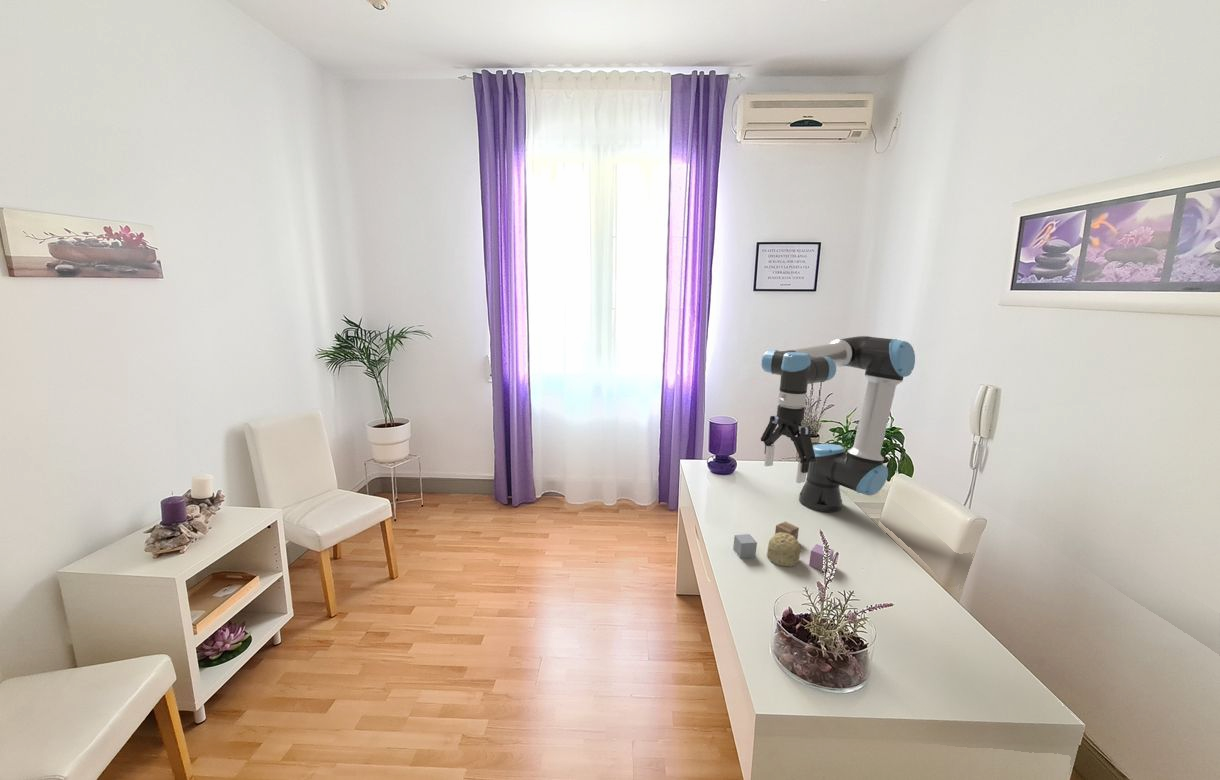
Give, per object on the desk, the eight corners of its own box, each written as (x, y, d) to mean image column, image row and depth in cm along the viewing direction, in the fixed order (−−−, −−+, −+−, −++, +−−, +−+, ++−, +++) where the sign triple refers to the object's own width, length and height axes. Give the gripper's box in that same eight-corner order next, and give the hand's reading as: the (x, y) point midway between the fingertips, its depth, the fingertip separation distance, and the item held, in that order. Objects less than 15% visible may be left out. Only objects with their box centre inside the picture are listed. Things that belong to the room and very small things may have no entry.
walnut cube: (783, 535, 164) (785, 521, 163) (797, 541, 160) (798, 527, 159) (774, 539, 161) (776, 525, 160) (787, 546, 157) (789, 531, 156)
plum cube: (814, 558, 150) (816, 543, 149) (831, 565, 147) (833, 550, 146) (809, 565, 147) (811, 550, 146) (826, 572, 144) (828, 556, 143)
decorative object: (790, 579, 145) (812, 555, 143) (762, 559, 146) (784, 534, 144) (783, 565, 154) (804, 541, 153) (757, 545, 155) (778, 521, 153)
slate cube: (748, 548, 155) (749, 534, 154) (755, 557, 150) (757, 542, 149) (733, 549, 154) (734, 535, 153) (740, 558, 149) (741, 543, 148)
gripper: (753, 396, 154) (747, 460, 159) (814, 418, 132) (805, 491, 136) (771, 394, 157) (765, 457, 162) (835, 415, 135) (825, 487, 139)
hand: (783, 473), depth 149 cm, fingers open, 13 cm apart
